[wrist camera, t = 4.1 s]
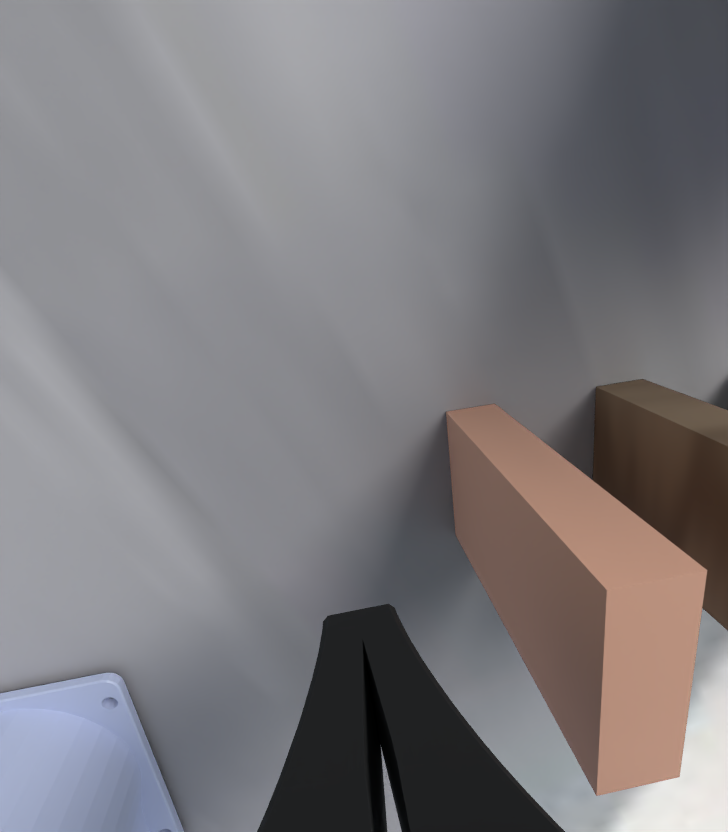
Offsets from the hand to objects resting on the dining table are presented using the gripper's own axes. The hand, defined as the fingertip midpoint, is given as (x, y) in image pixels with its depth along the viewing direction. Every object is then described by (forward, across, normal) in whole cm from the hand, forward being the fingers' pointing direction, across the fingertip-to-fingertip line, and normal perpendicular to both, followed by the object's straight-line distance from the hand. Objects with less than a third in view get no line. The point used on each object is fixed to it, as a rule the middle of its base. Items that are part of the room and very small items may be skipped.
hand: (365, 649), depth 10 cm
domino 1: (+6, -4, 0) cm, 8 cm away
